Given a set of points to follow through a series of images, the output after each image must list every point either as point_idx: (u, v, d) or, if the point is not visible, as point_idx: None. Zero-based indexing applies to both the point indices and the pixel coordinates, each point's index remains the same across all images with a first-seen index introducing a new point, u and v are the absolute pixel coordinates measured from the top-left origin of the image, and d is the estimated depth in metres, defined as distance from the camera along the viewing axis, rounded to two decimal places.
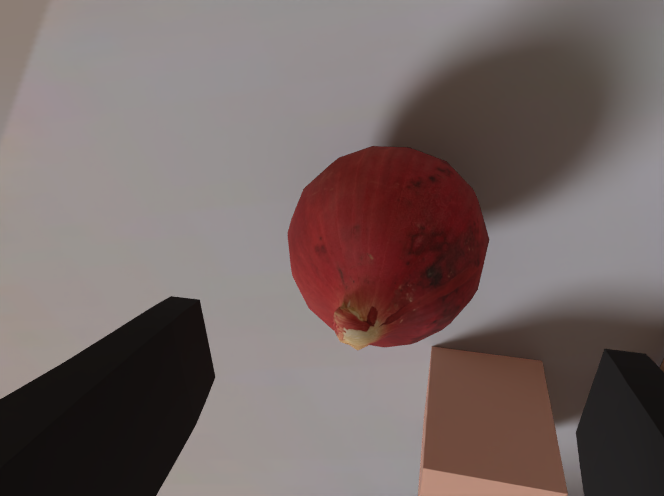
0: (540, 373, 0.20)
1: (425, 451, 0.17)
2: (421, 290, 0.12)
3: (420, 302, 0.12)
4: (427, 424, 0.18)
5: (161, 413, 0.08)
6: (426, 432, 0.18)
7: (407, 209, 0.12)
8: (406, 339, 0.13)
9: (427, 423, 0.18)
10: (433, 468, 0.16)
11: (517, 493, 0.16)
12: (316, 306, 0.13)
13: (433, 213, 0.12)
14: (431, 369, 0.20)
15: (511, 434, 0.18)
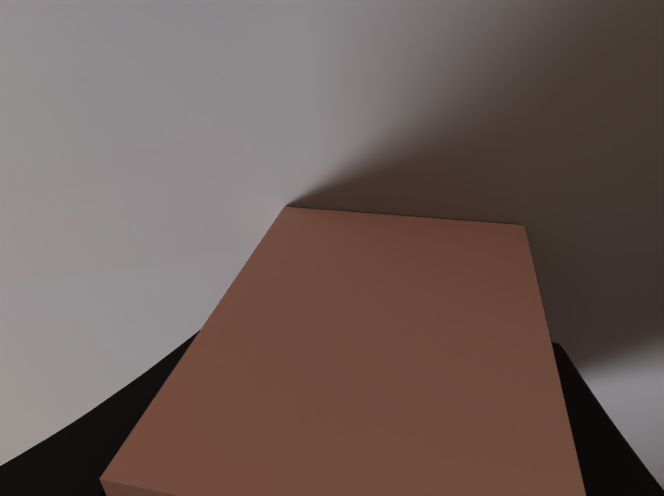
0: (518, 246, 0.08)
1: (140, 424, 0.05)
2: None
3: None
4: (189, 352, 0.06)
5: None
6: (176, 372, 0.06)
7: None
8: None
9: (191, 349, 0.06)
10: (133, 480, 0.05)
11: None
12: None
13: None
14: (263, 242, 0.09)
15: (424, 375, 0.06)
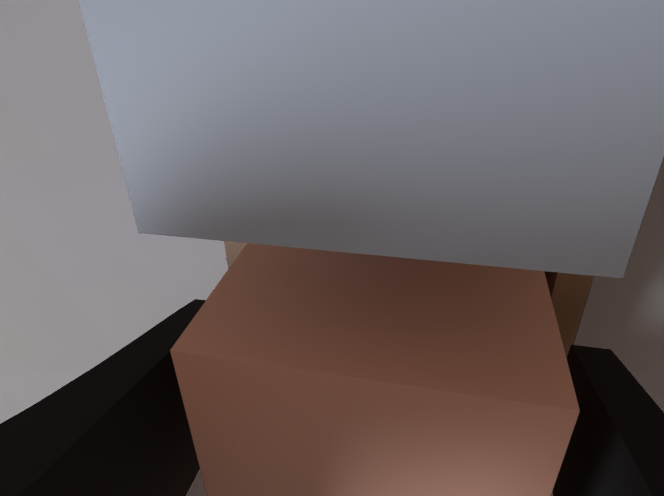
0: None
1: (197, 316, 0.06)
2: None
3: None
4: (232, 268, 0.07)
5: None
6: (222, 282, 0.07)
7: None
8: None
9: (233, 266, 0.07)
10: (197, 350, 0.06)
11: (428, 416, 0.05)
12: None
13: None
14: None
15: (434, 283, 0.07)
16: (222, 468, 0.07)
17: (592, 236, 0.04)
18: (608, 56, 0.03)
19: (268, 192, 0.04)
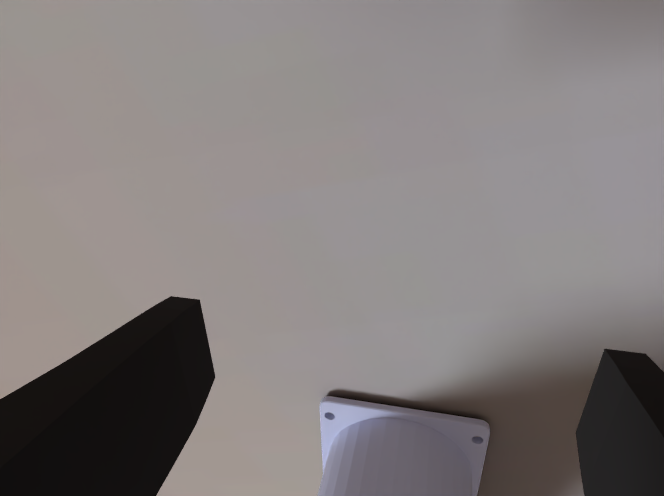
0: None
1: None
2: None
3: None
4: None
5: (161, 413, 0.08)
6: None
7: None
8: None
9: None
10: None
11: None
12: None
13: None
14: None
15: None
16: None
17: None
18: None
19: None
